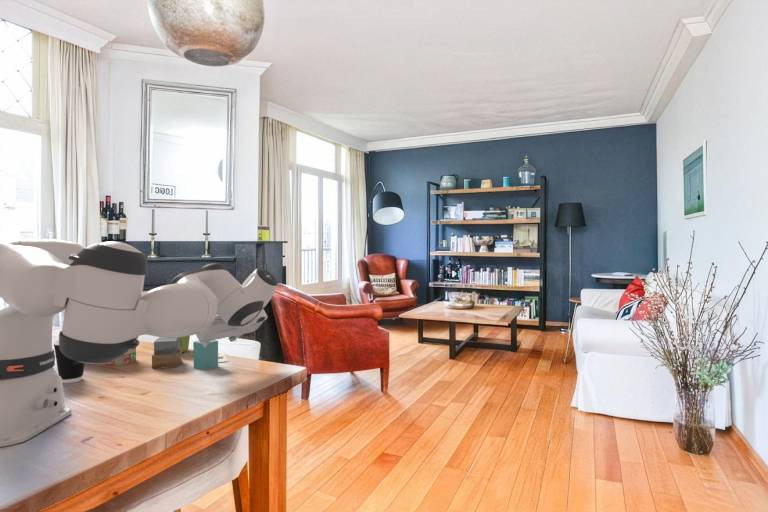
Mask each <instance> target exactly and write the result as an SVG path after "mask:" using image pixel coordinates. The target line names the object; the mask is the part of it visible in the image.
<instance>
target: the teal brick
mask: <svg viewBox="0 0 768 512" xmlns="http://www.w3.org/2000/svg"><path fill="white" fill-rule="evenodd" d="M210 342H211V345H210V346H209V347H206V348H204V347H203V345H202V343H201V342H200V341H199V340H196V341H195V340H194V341H193V345H192V347H193V368H194V369H198V370H201V371H206V369H207V370H210V368H211V369H214V368H218V367H219V363H218V354H219V340H218V339H217V340H212V341H210Z"/></svg>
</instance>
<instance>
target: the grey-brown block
mask: <svg viewBox="0 0 768 512" xmlns="http://www.w3.org/2000/svg"><path fill="white" fill-rule="evenodd" d="M182 353H183V352H182V349H180V340H179V337H178V338H163V337H157V339H155V340H154V342H153V354H151V369H152V368H153V369H163V368H162V367H171V368H178V367H179V365H180V364H181V363H182V360H183V357H182V355H183V354H182ZM180 362H181V363H180ZM177 366H178V367H177Z"/></svg>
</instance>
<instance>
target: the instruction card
mask: <svg viewBox="0 0 768 512" xmlns="http://www.w3.org/2000/svg"><path fill="white" fill-rule="evenodd" d="M227 362H228V358H227V356H226V353H218V364H219V363H227Z"/></svg>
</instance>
